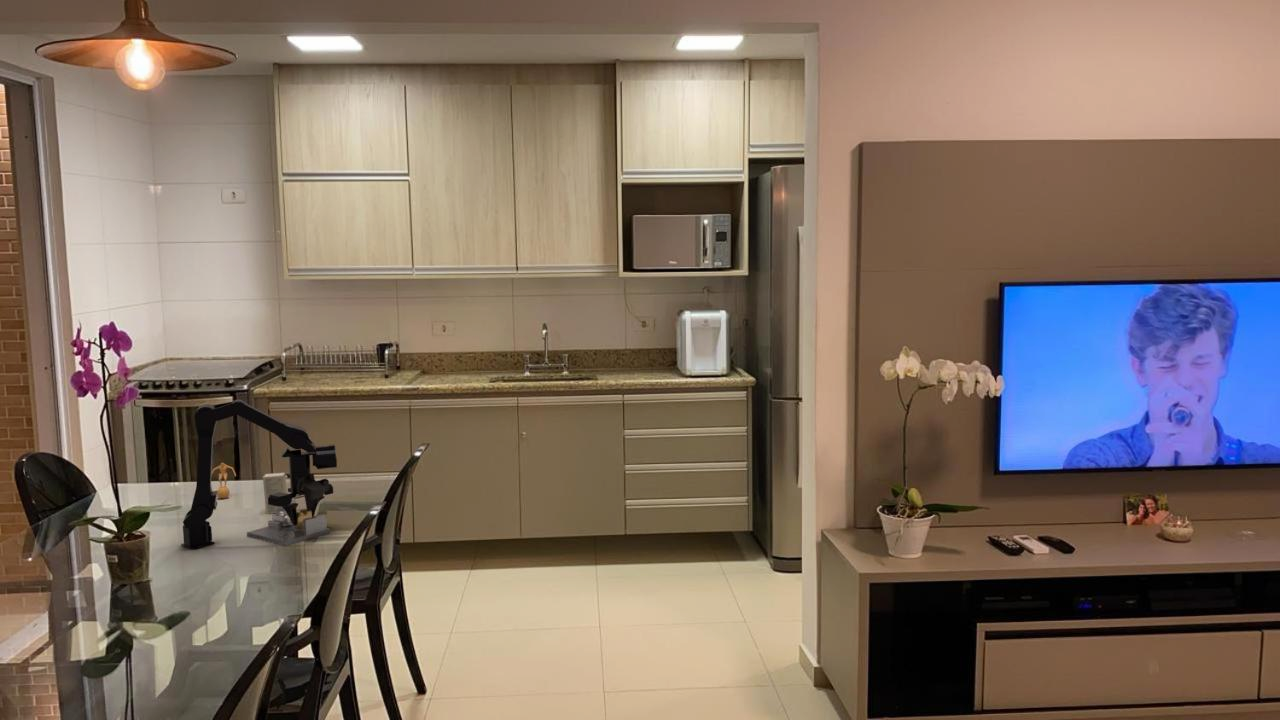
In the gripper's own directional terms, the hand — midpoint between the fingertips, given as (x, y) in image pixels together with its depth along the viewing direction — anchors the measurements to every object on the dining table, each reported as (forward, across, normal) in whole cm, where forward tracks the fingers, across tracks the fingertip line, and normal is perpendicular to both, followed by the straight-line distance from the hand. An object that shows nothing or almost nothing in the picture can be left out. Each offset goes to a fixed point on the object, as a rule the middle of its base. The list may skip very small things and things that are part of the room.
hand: (302, 522), depth 274 cm
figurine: (+3, +13, +60) cm, 62 cm away
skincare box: (+3, +11, +28) cm, 31 cm away
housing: (+1, 0, 0) cm, 1 cm away
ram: (+2, 0, +8) cm, 9 cm away
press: (+3, -3, +2) cm, 5 cm away
